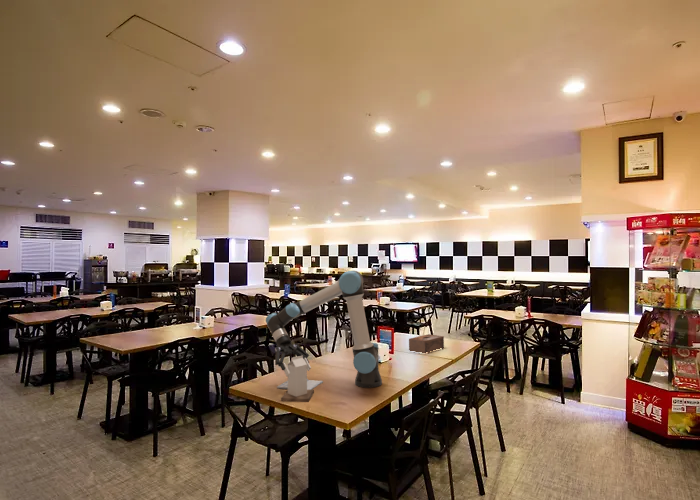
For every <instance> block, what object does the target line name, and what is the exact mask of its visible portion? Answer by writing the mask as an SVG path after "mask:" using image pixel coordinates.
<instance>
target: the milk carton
mask: <svg viewBox="0 0 700 500" xmlns="http://www.w3.org/2000/svg"><path fill="white" fill-rule="evenodd" d="M287 368H288V370H289V372H290V374H289V375H288V376H287V380H288V389H287V390H288V394H290V395H293V396H295V397H297V396H301V395H304V394H307V379H308V370H307V364H306V362H305V360H304V359H303V355H302V356H293V357H291V360H290V361H289V362H288V364H287Z"/></svg>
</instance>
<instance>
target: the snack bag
mask: <svg viewBox="0 0 700 500" xmlns="http://www.w3.org/2000/svg"><path fill="white" fill-rule="evenodd" d="M323 383H324V380H314V379H308V378H307V390H314V388H316V387H318V386H319V385H321V384H323ZM276 388H277V389H280V390H288V379H287V380H286V381H284V382H283V383H281V384H279V385H277V386H276Z"/></svg>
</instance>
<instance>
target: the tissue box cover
mask: <svg viewBox="0 0 700 500" xmlns="http://www.w3.org/2000/svg"><path fill="white" fill-rule="evenodd" d="M444 340H445V336H443V335H437V334H436V335H435V334H429V333H428V334H424V335H418V336H414V337H410V338H408V351H409V350H410V351H416V352H422V353H426V352H430V351H433V350H436V349H440V348H444V349H445V343H444V342H445V341H444Z"/></svg>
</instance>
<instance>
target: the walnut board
mask: <svg viewBox="0 0 700 500" xmlns="http://www.w3.org/2000/svg"><path fill="white" fill-rule="evenodd" d="M314 393H315V389H312V390H307V394H304V395H301V396H297V397H295V396H293V395H290V394H288V389H286V391H285V392H284V394H283V395H282V397H281V398H280V402H302V403H303V402H304V403H309V402H310V401H311V399H312V397H313V395H314Z"/></svg>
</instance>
